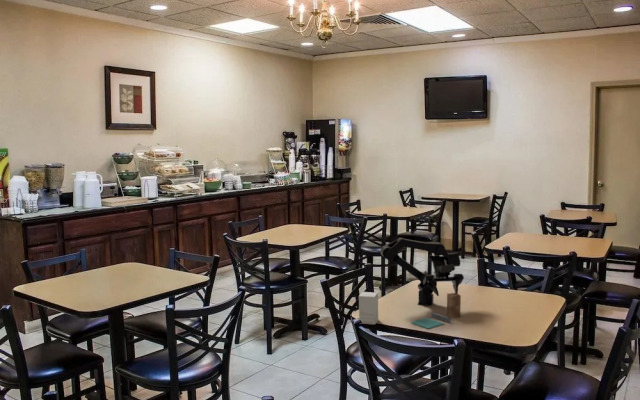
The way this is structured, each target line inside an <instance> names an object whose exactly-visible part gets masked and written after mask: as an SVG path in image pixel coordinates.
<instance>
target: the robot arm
mask: <svg viewBox="0 0 640 400" xmlns="http://www.w3.org/2000/svg"><path fill="white" fill-rule="evenodd" d="M403 248H409V249H413V250H414V249H415V250H420V251H425V252H428V253H431V254H430V255H429V256H428V258H427V262H428V263H429V262H432V266H433V270H434V271H433V273H434V274H435V276H434V274H431V273H429V272H427V270H425V271H424V272H422V271H421V270H419V269H417V268H416V266H413V265H412V264H411V263H409V262H408V261H406V260H405V259H404V258H402V257H401V256H400V255H399V254H398V252H400V250H401V249H403ZM379 251H380V255H381V256H382V257H383V258H384V259H386V260H387V261H389V262H392V263H395V264H396V265H398V266H399V267H401V268H402V269H404V270H405V271H406V272H408V273H409V274H410V275H412V276H413V277H414V278H416V279H417V280H418V281H419V283H418V284H417V289H418V302H417V305H421V306H432V305H433V304H434V297H435V296H437V297H439V296H440V295H439V290H438V287H437V285H438V282H442V283H443V282H452V287H453V290H454V293H457V294H459V286H460V285H461V284H462V282H464V281H463V280H464V278H465V277H464V274H462V273H454V274H453V276H450V275H451V273H452V272H454V271H455V270H456V267H460V266H461V259H460V256H459V253H458V252H451V253H450V252H447V251H446V247H445V245H444V244H443V243H441V242H439V241H419V240H415V239H414V240H412V239H407V238H403V237H398V238H397V239H396V240H394V241H392V242H390V243H388V244H386V245H382V246H381V248H380V250H379ZM432 254H433V255H432ZM433 293H434V294H435V296H434V294H433Z"/></svg>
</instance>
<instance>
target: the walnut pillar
mask: <svg viewBox="0 0 640 400" xmlns="http://www.w3.org/2000/svg"><path fill="white" fill-rule="evenodd" d="M461 296H462V295H460V294H459V293H458V294H457V293H455V292H454V293H453V292H452V293H451V292H450V293H448V292H447V293H446V316H447V317H449V318H450V319H451V318H452V319H453V318H461V307H462V305H461V301H462V300H461Z"/></svg>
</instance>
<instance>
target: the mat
mask: <svg viewBox="0 0 640 400" xmlns="http://www.w3.org/2000/svg"><path fill="white" fill-rule="evenodd" d="M410 324H413V325H415V326H418V327H420V328H423V329H427V330H430V329H434V328H436V327H440V326H443V325H444V324H445V322H442V321H439V320H437V319H434V318H433V319H432V318H430V317H423V318H421V319H418V320H414V321H411V322H410Z"/></svg>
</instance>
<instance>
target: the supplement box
mask: <svg viewBox="0 0 640 400" xmlns="http://www.w3.org/2000/svg"><path fill="white" fill-rule="evenodd" d="M358 317H359V318H358V319H359V320H361V322H362V323H361V324H365V325H376V324H377V322H378V321H379V293H378V292H371V291H369V292H368V291H362V292H361V293H360V294H359V295H358Z"/></svg>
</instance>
